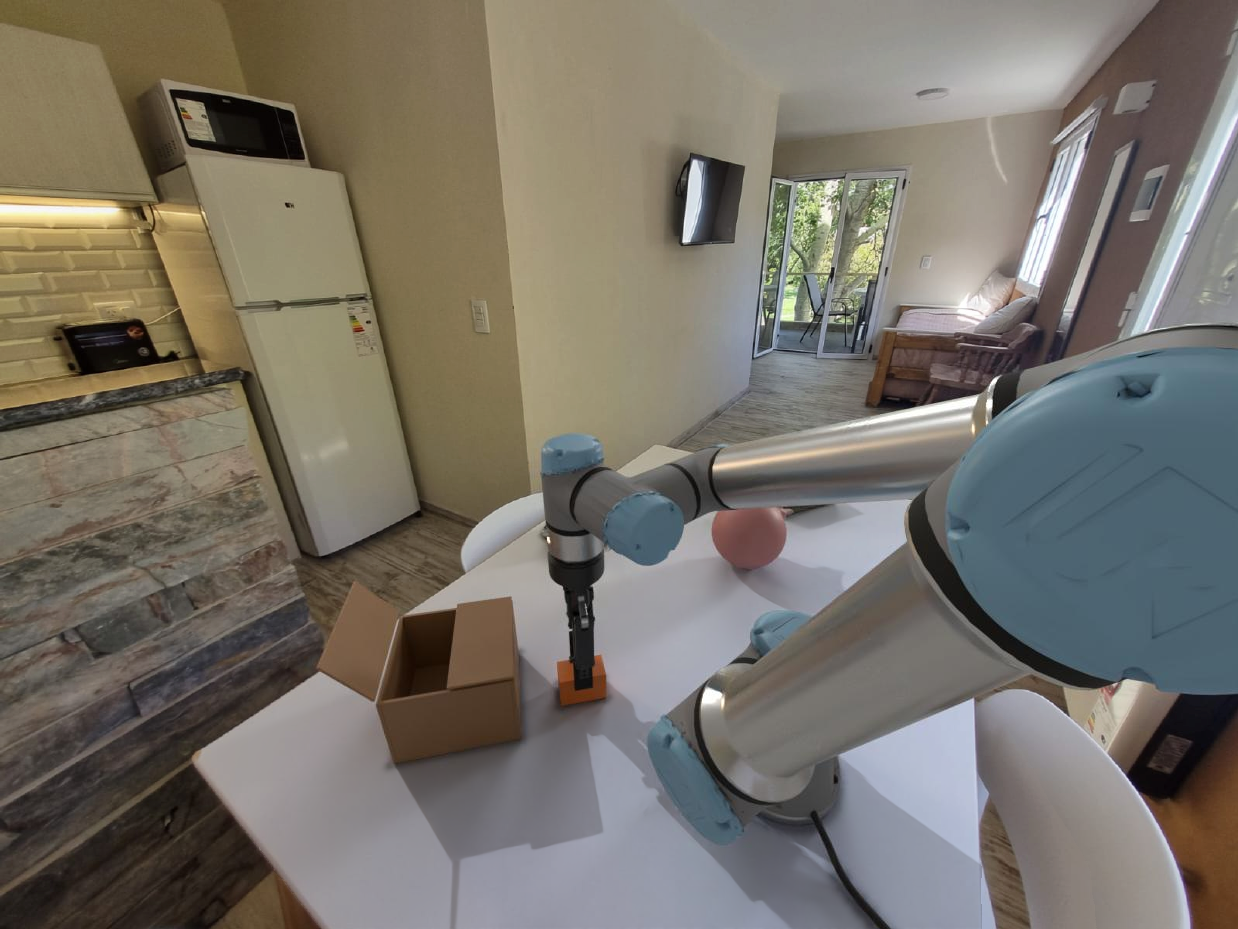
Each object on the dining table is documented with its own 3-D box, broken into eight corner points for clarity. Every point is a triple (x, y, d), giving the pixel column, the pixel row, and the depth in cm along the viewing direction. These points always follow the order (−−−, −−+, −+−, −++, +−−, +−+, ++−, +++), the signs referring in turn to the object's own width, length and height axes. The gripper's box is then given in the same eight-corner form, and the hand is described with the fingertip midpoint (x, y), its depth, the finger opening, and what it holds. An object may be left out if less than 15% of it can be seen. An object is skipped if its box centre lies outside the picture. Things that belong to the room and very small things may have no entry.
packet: (606, 697, 74) (606, 674, 72) (561, 706, 72) (559, 683, 70) (601, 676, 77) (601, 654, 75) (558, 684, 76) (556, 661, 74)
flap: (317, 667, 55) (315, 669, 55) (375, 700, 59) (372, 702, 59) (355, 580, 69) (353, 582, 69) (399, 612, 73) (397, 613, 73)
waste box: (521, 738, 68) (513, 676, 62) (393, 764, 64) (373, 700, 59) (518, 652, 82) (511, 595, 77) (413, 669, 79) (398, 611, 73)
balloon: (812, 566, 103) (826, 505, 97) (737, 592, 96) (746, 527, 89) (765, 530, 116) (774, 474, 110) (695, 550, 109) (700, 491, 102)
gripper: (542, 518, 70) (551, 637, 80) (553, 594, 55) (563, 729, 65) (593, 512, 72) (595, 630, 82) (617, 585, 57) (616, 719, 67)
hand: (581, 674), depth 73 cm, fingers closed on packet, 4 cm apart
